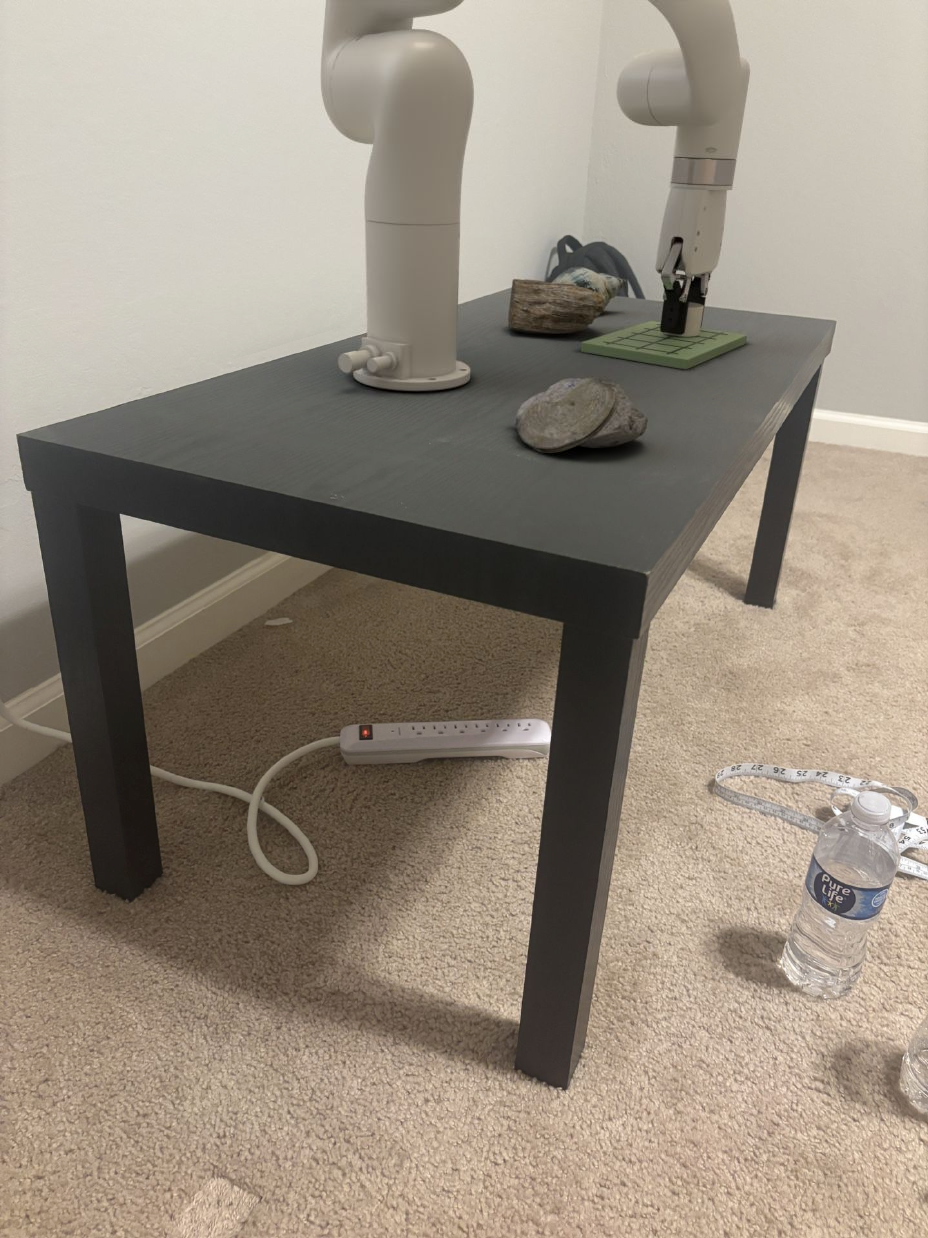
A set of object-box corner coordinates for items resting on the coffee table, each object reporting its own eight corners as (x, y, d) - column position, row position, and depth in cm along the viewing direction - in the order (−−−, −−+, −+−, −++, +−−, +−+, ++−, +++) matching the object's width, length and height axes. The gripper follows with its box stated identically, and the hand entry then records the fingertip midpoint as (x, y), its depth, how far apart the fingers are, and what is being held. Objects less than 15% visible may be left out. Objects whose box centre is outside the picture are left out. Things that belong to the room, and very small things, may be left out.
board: (686, 369, 105) (687, 358, 105) (580, 351, 112) (581, 341, 112) (745, 343, 120) (747, 334, 119) (649, 329, 127) (650, 319, 126)
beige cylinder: (690, 338, 115) (695, 309, 114) (656, 333, 118) (660, 304, 116) (705, 333, 119) (709, 304, 117) (671, 327, 121) (675, 299, 120)
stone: (608, 299, 127) (606, 248, 118) (605, 361, 124) (603, 313, 114) (513, 302, 130) (504, 253, 120) (508, 363, 126) (498, 317, 117)
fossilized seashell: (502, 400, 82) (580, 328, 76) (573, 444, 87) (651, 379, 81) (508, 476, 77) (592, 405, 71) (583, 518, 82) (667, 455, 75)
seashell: (546, 316, 142) (620, 323, 138) (532, 301, 135) (610, 308, 131) (553, 275, 141) (628, 280, 137) (540, 258, 134) (619, 263, 130)
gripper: (700, 172, 118) (679, 317, 126) (643, 174, 105) (625, 335, 114) (756, 175, 114) (731, 324, 123) (704, 178, 102) (681, 344, 110)
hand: (680, 328), depth 118 cm, fingers closed on beige cylinder, 4 cm apart
